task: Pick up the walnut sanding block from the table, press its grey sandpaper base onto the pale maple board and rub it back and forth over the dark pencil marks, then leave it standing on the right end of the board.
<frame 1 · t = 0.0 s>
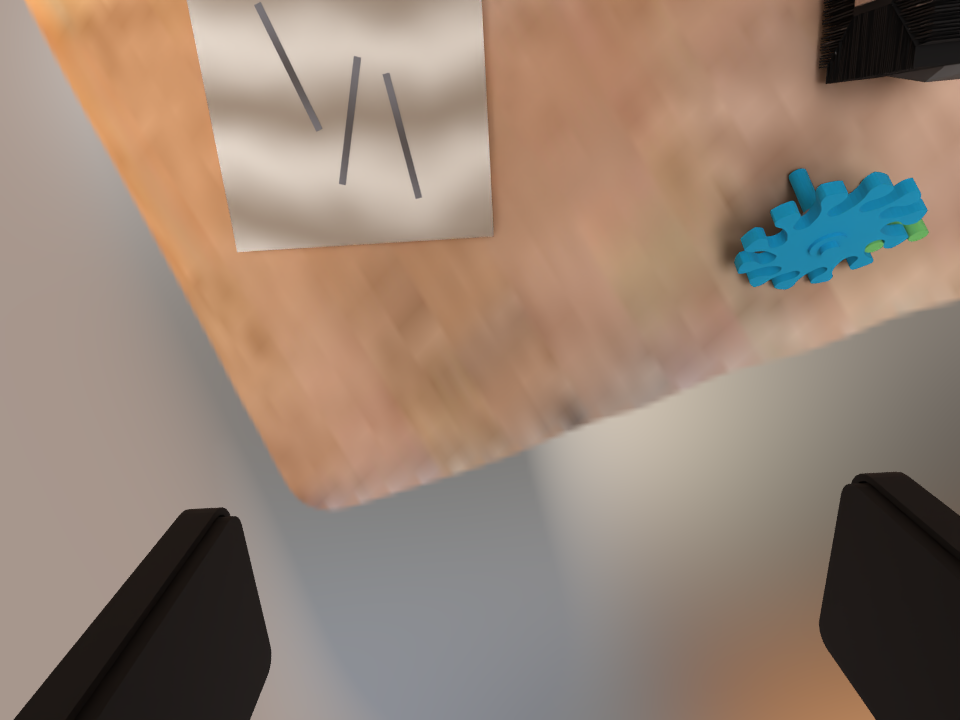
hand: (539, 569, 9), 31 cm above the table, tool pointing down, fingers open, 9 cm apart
gear: (799, 227, 38), on the table
board: (354, 106, 36), on the table
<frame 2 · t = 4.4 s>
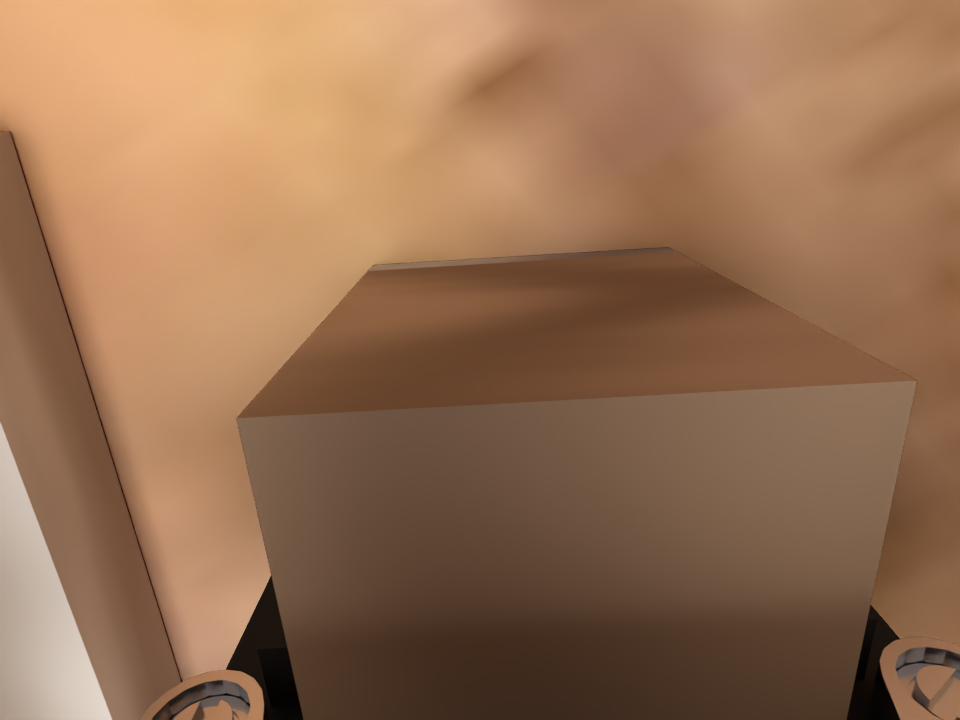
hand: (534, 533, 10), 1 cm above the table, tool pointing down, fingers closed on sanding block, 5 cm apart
sanding block: (528, 485, 11), on the table, touching gripper
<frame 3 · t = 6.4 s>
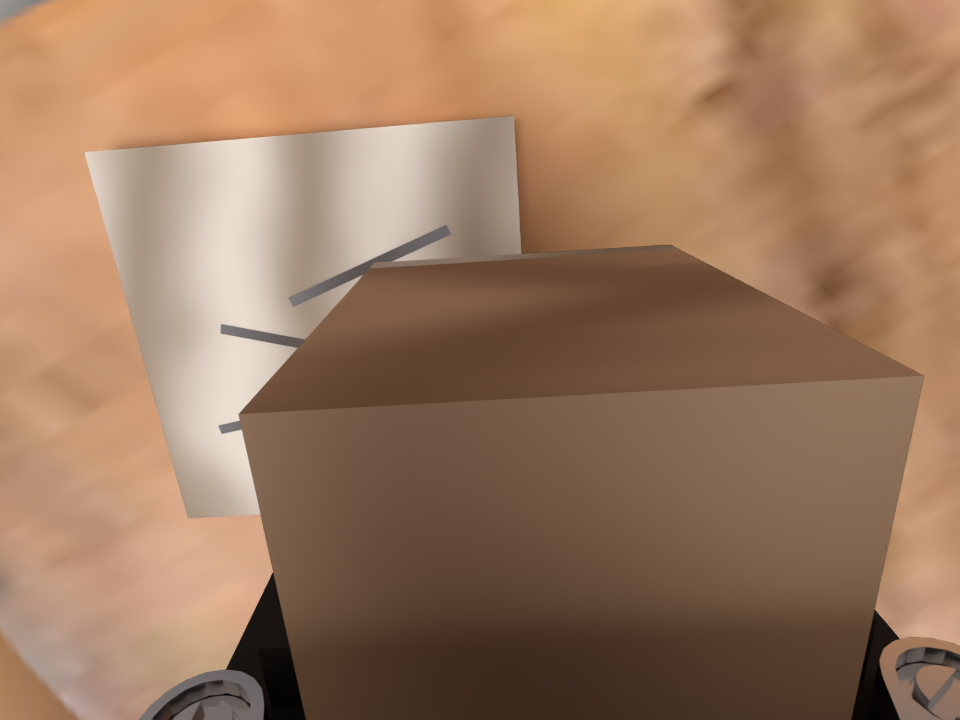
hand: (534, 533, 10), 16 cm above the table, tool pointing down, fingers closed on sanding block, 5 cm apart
sanding block: (529, 484, 11), point 15 cm above the table, touching gripper
board: (342, 328, 26), on the table
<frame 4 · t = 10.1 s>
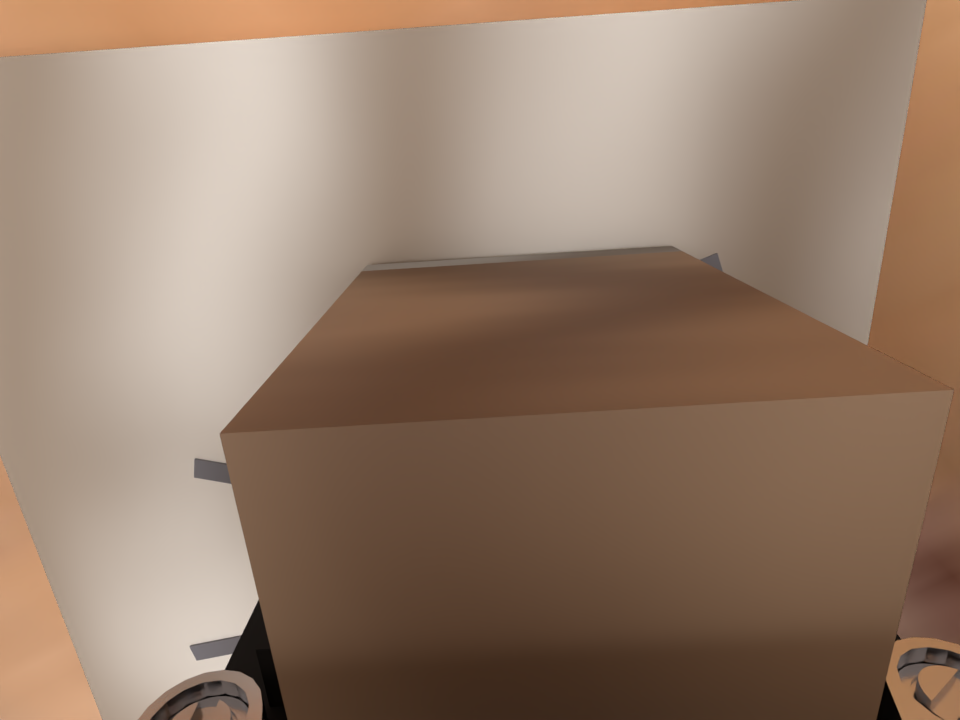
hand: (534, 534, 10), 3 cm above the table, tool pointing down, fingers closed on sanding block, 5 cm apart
sanding block: (528, 491, 11), point 2 cm above the table, touching gripper
board: (436, 446, 13), on the table
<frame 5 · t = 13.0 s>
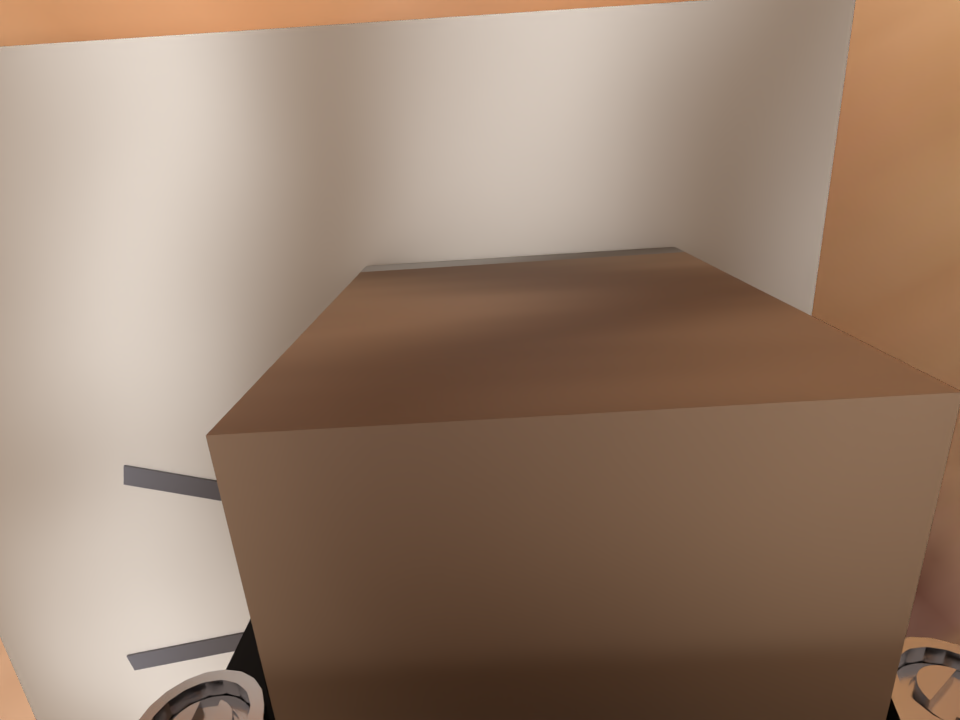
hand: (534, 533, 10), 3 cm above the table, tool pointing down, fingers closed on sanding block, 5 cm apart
sanding block: (529, 495, 11), point 2 cm above the table, touching gripper
board: (381, 451, 13), on the table
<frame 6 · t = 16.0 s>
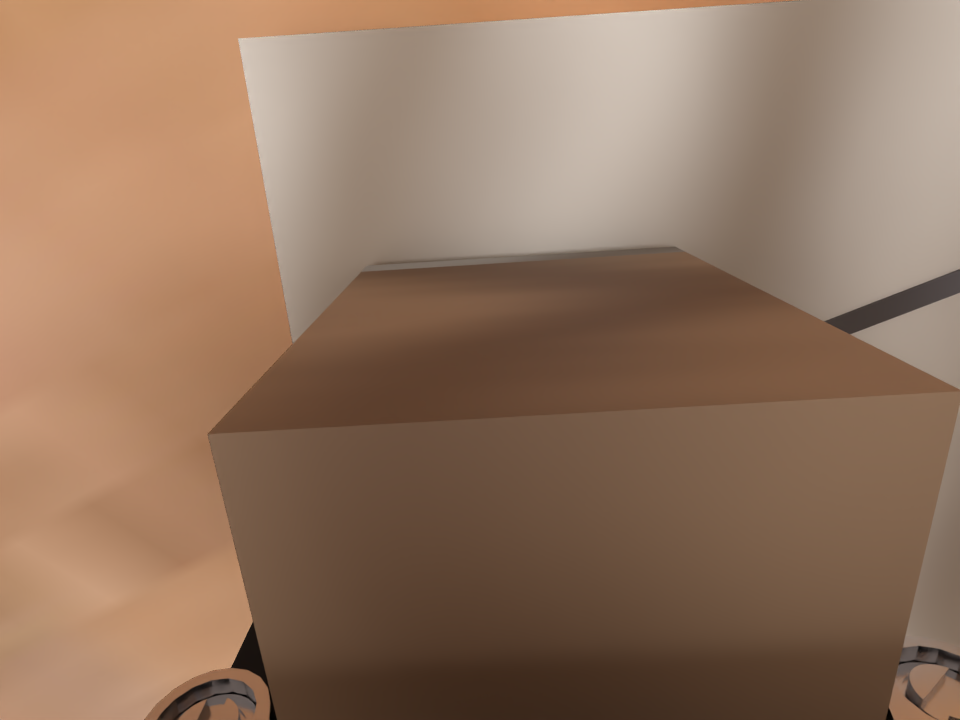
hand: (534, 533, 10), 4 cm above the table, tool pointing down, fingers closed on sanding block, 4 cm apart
sanding block: (529, 494, 11), point 2 cm above the table, touching gripper
board: (693, 427, 13), on the table
when the fingers open (4 cm above the table, at t = 16.1 s): sanding block stays where it is, resting on board.
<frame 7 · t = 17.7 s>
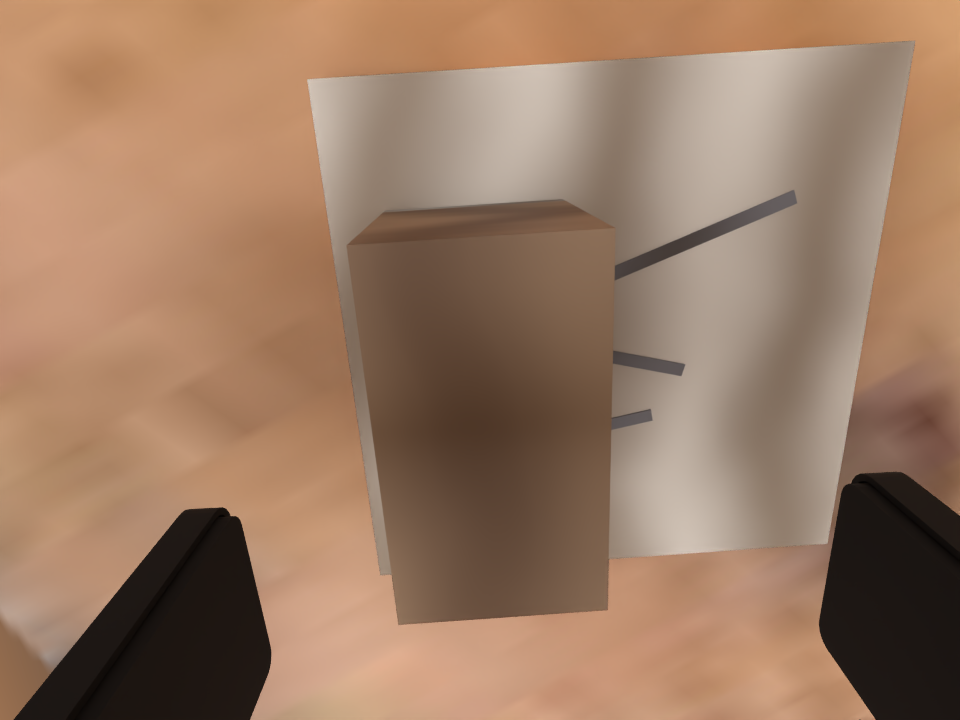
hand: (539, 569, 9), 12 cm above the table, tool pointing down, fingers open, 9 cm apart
sanding block: (483, 355, 18), point 2 cm above the table, touching board
board: (594, 328, 20), on the table
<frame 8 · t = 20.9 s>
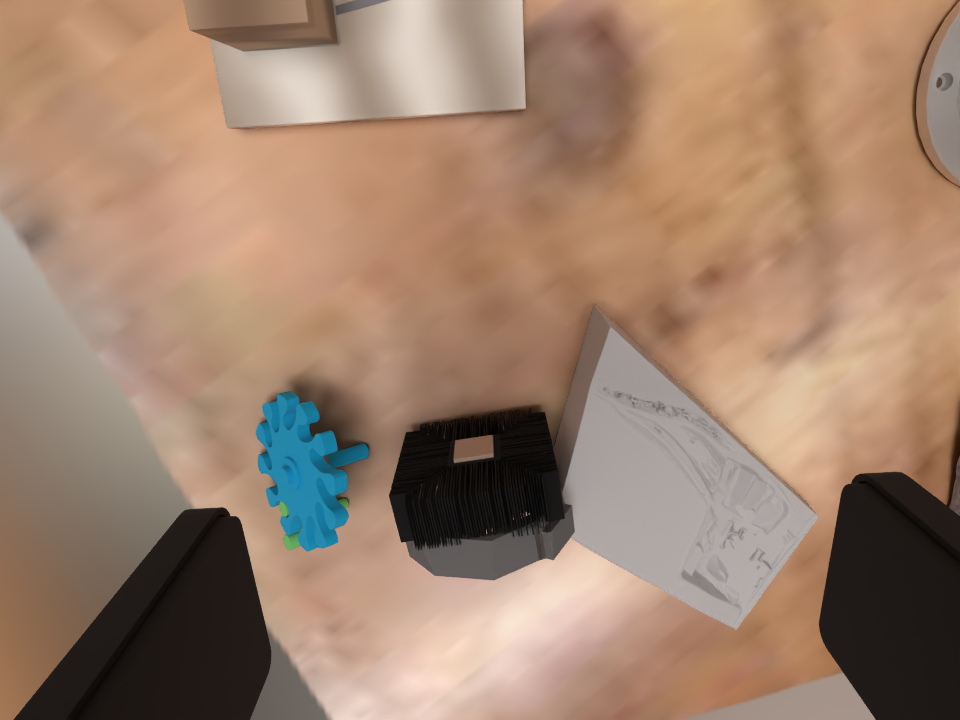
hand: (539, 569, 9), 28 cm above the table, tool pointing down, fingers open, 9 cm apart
ramp: (665, 472, 42), on the table, touching cpu cooler
cpu cooler: (481, 445, 41), on the table, touching ramp
gear: (315, 448, 41), on the table
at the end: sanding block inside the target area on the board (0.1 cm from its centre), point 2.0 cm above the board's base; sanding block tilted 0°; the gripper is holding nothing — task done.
